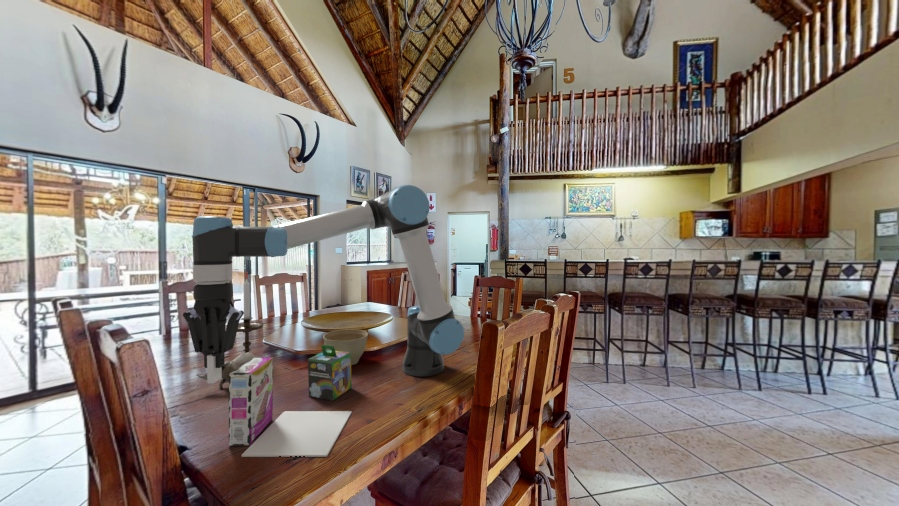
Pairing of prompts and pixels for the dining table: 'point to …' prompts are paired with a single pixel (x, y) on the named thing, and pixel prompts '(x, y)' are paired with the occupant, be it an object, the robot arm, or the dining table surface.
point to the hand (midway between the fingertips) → (214, 380)
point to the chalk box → (329, 373)
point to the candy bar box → (250, 400)
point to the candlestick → (247, 318)
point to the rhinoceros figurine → (231, 367)
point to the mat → (300, 434)
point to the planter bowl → (347, 342)
